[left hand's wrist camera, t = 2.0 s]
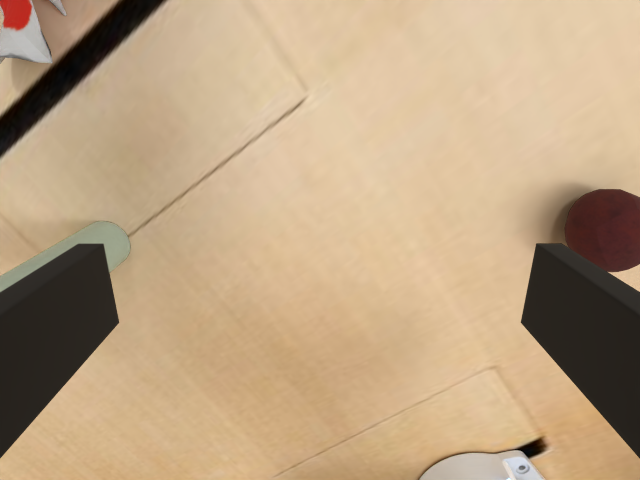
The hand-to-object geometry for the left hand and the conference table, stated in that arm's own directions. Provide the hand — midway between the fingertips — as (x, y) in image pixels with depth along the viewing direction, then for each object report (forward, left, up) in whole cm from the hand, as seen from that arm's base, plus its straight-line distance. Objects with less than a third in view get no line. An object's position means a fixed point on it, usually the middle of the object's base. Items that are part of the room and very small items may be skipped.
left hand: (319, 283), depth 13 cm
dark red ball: (+6, +27, -28) cm, 39 cm away
